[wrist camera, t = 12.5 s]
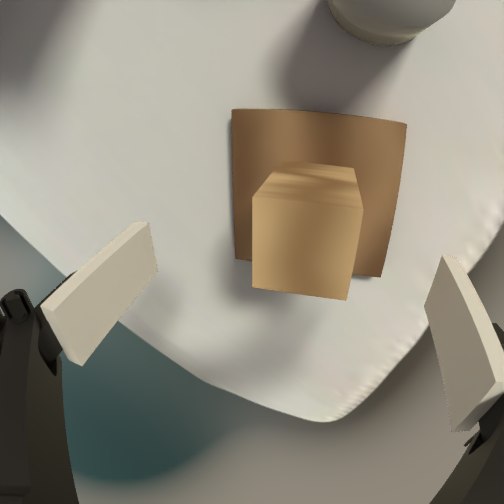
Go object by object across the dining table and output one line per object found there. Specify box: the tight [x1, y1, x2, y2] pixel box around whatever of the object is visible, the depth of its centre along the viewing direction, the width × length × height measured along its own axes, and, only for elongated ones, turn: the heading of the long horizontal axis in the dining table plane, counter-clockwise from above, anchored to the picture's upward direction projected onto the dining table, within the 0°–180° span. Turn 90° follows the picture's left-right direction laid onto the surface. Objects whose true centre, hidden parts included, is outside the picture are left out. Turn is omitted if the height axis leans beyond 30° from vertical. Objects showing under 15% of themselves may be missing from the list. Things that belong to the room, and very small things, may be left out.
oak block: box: [252, 161, 364, 300], centre depth 18 cm, size 5×5×8 cm
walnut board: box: [232, 109, 407, 277], centre depth 21 cm, size 12×12×1 cm
